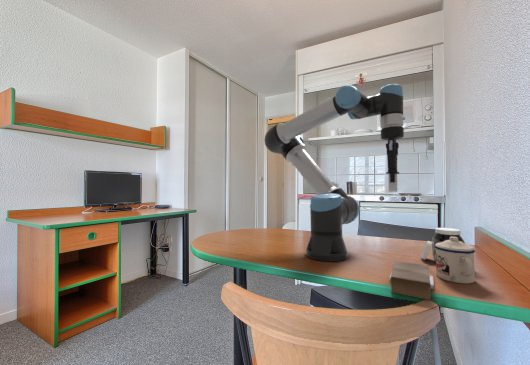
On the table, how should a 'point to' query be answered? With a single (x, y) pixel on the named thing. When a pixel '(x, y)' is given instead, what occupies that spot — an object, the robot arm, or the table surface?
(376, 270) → the table surface
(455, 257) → the teacup with lid
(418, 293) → the walnut slab
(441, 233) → the spread jar
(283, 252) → the table surface
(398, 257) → the table surface
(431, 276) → the grey board
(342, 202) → the robot arm
